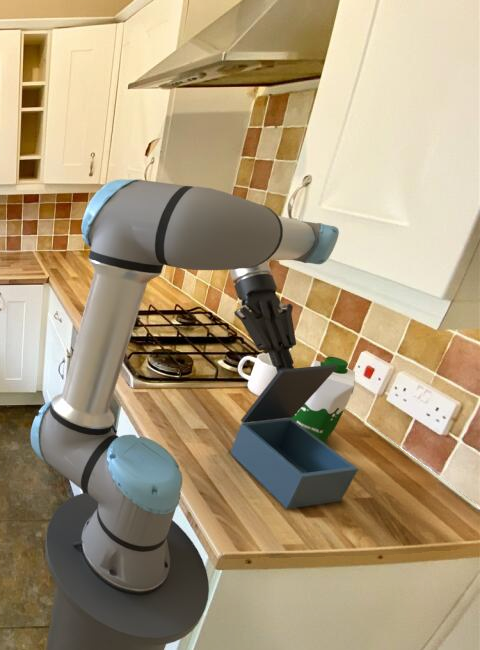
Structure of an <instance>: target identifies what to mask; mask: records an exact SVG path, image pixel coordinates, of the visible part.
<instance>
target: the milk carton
mask: <svg viewBox="0 0 480 650" xmlns="http://www.w3.org/2000/svg"><path fill="white" fill-rule="evenodd" d="M324 365H336V366H337V368H336V370H335V371H334V372H333V373H332V374H331V375H330V376H329V377H328V378H327V380H326V381H325V382H324V383H323V384H322V385H321V386H320V387H319V388H318V390H317V391H316V392H315V393H314V394H313V395H312V396H311V397H310V398H309V400H308V401H307V402H306V403H305V404H304V405H303V406H302V407H301V408H300V410H299V411H298V412H297V413H296V414H295V415H294V416H293V417H292V418H291V419H293V420H294V421H295V422H297V423H298V424H299V425H301V426H302V427H303V428H305V429H306V430H307V431H309V432H310V433H311V434H313V435H314V436H315V437H317V438H318V439H319V440H321V441H322V442H323V443H325V444H326V442H327V440H329V438H330V436H331V434H332V433H333V432H334V430H335V429H336V427H337V425H338V424H339V421H340V419H341V417H342V415H343V413H344V411H345V409H346V407H347V406H348V403H349V401H350V399H351V396H352V395H353V394H354V389H355V385H356V371H355V370H351V369H348V365H349V362H348V361H346V360H345V359H342V358H340V357H336V356H326V357H325V359H324V361H318V360H313V361H312V363H311V365H310V366H309V367H314V366H324Z"/></svg>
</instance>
